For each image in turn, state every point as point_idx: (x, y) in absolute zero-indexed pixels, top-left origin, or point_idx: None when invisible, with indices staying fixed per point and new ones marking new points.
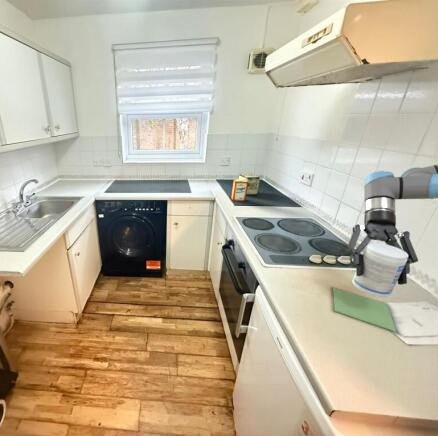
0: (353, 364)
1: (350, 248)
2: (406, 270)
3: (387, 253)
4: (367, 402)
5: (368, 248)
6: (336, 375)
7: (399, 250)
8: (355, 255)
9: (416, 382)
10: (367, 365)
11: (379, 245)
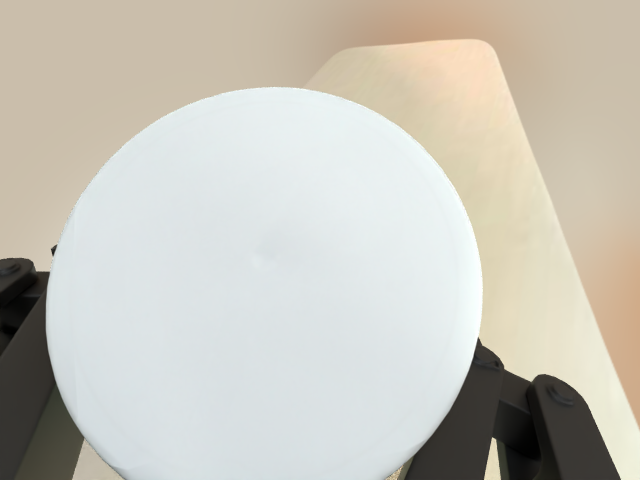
0: (425, 112)
1: (575, 397)
2: None
3: (337, 146)
4: (433, 51)
5: (475, 281)
6: (468, 84)
7: (106, 267)
8: (479, 343)
9: None
10: (397, 115)
11: (291, 387)
